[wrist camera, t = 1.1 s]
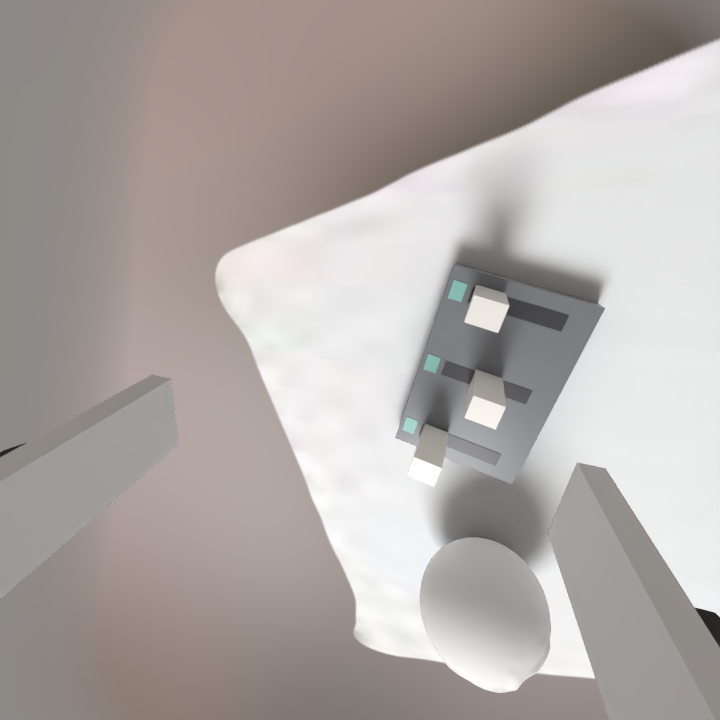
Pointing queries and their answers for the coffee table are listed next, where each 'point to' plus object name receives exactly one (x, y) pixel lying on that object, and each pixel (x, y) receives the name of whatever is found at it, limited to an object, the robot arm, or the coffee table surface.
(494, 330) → the breaker
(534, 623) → the decorative ball
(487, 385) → the breaker
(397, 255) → the coffee table surface
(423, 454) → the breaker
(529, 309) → the board
